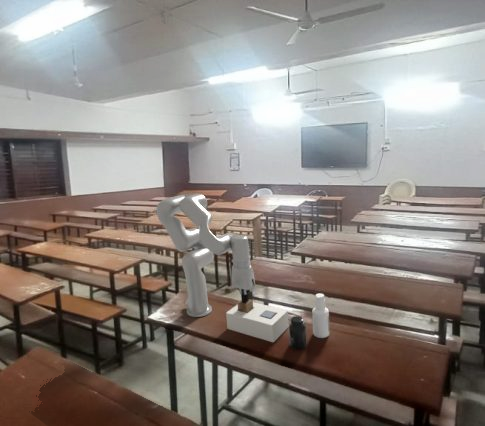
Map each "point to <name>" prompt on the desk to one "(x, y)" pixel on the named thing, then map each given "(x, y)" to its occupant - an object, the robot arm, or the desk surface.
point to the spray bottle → (320, 317)
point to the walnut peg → (245, 306)
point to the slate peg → (268, 314)
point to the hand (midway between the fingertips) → (245, 301)
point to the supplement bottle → (297, 333)
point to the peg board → (258, 322)
